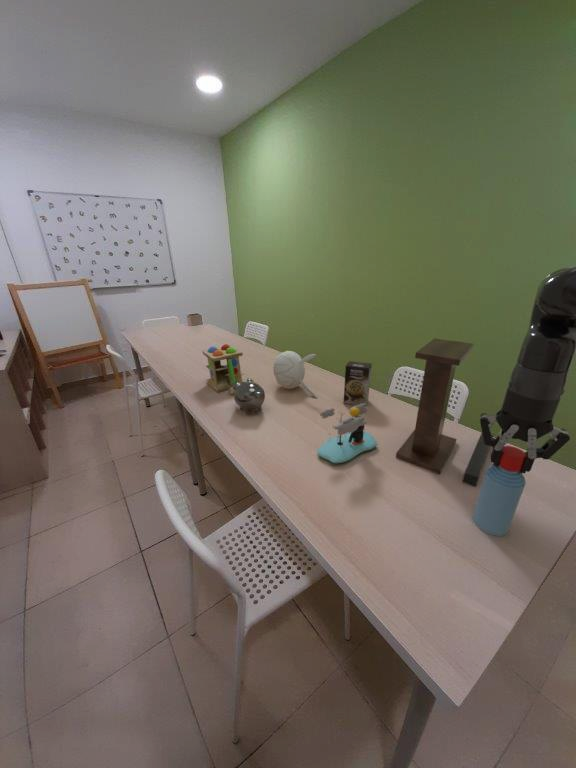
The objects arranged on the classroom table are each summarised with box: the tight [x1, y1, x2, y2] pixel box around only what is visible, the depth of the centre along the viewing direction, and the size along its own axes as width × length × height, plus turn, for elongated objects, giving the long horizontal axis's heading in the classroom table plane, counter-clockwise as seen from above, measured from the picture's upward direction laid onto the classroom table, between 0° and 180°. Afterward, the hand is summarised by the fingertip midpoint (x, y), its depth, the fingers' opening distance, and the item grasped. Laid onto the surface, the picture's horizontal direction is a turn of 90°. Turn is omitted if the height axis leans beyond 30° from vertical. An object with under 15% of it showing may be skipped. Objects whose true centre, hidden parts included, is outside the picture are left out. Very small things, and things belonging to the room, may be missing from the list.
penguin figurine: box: [317, 403, 379, 464], centre depth 89 cm, size 20×11×15 cm, turn 119°
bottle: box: [472, 464, 526, 537], centre depth 62 cm, size 7×7×18 cm
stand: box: [395, 338, 475, 475], centre depth 84 cm, size 12×18×32 cm, turn 140°
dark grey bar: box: [461, 432, 494, 487], centre depth 85 cm, size 3×24×3 cm, turn 140°
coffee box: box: [343, 360, 373, 406], centre depth 117 cm, size 9×6×16 cm
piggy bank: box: [233, 377, 266, 416], centre depth 115 cm, size 11×15×12 cm
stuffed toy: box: [273, 350, 318, 399], centre depth 130 cm, size 19×14×25 cm
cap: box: [498, 445, 526, 472], centre depth 59 cm, size 4×4×3 cm
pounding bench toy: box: [202, 344, 247, 396], centre depth 135 cm, size 23×14×18 cm, turn 32°
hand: (508, 466), depth 60 cm, fingers closed on cap, 3 cm apart
